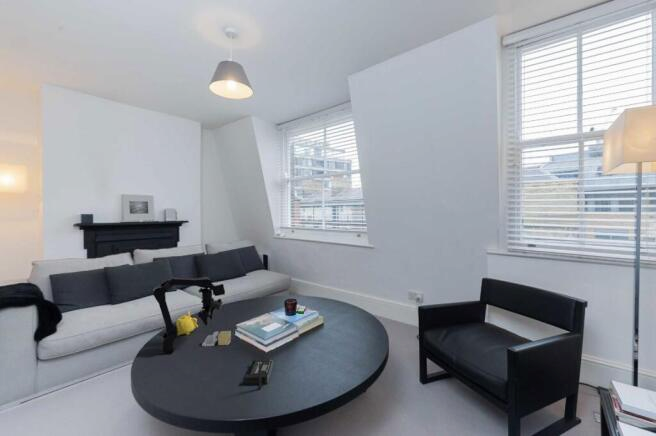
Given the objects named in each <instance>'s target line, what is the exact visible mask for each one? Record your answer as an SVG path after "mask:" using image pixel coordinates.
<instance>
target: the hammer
mask: <svg viewBox="0 0 656 436" xmlns="http://www.w3.org/2000/svg"><path fill="white" fill-rule="evenodd" d="M219 334H220V332H219V331H214V332H213V333H212V334H208V335H207V336H206V338H205V340H204V341H203V342H202V344H201V347H214V346H216V344H217V343H218V335H219Z"/></svg>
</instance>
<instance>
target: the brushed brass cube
mask: <svg viewBox="0 0 656 436" xmlns="http://www.w3.org/2000/svg"><path fill="white" fill-rule="evenodd" d="M231 341H232V331H231V330H222V331H220V332H219V334H218V335H217V344H218V346H228V345H229V344H230V343H231Z"/></svg>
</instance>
